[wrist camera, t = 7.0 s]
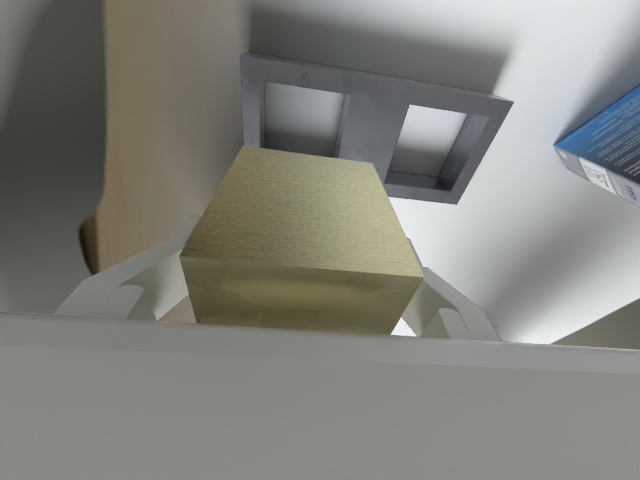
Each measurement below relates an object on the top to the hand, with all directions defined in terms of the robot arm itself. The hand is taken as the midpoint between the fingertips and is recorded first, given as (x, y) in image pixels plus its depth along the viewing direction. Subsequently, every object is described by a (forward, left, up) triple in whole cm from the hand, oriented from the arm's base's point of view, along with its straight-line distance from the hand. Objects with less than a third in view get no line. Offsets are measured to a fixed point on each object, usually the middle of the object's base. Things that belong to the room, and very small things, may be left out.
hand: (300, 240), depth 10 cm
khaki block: (0, 0, -2) cm, 2 cm away
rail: (-5, 0, -16) cm, 17 cm away
